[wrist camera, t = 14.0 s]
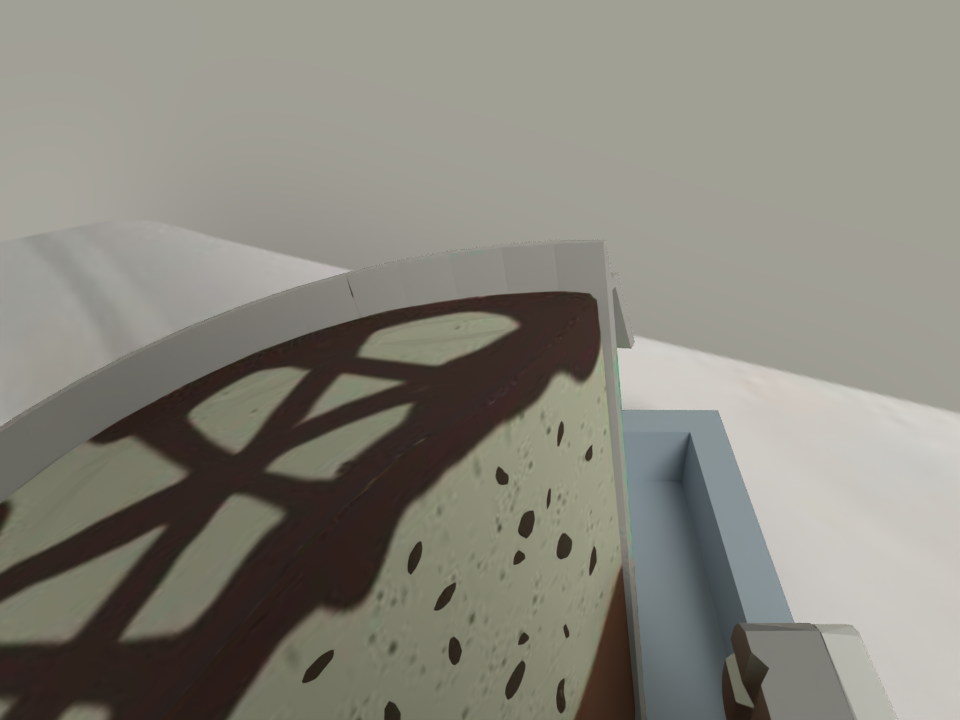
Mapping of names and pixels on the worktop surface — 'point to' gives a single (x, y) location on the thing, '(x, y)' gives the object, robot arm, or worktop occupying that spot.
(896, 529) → the worktop surface
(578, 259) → the food container
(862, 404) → the worktop surface
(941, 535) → the worktop surface
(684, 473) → the tray
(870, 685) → the robot arm
